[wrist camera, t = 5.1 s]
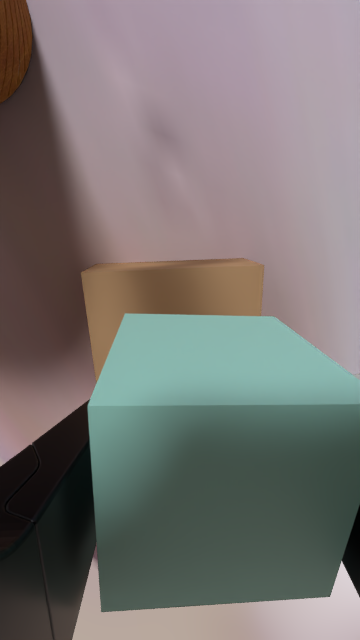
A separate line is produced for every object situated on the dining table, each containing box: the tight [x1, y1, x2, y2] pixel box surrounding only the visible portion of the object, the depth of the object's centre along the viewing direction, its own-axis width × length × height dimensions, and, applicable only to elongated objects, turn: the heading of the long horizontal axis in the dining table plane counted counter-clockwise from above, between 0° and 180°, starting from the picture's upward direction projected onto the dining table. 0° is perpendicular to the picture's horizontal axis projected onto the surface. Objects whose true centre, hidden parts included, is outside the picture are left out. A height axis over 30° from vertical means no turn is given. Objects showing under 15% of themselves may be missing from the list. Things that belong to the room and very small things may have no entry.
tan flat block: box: [81, 258, 264, 384], centre depth 15 cm, size 8×8×4 cm
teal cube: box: [88, 313, 360, 612], centre depth 8 cm, size 5×5×5 cm
